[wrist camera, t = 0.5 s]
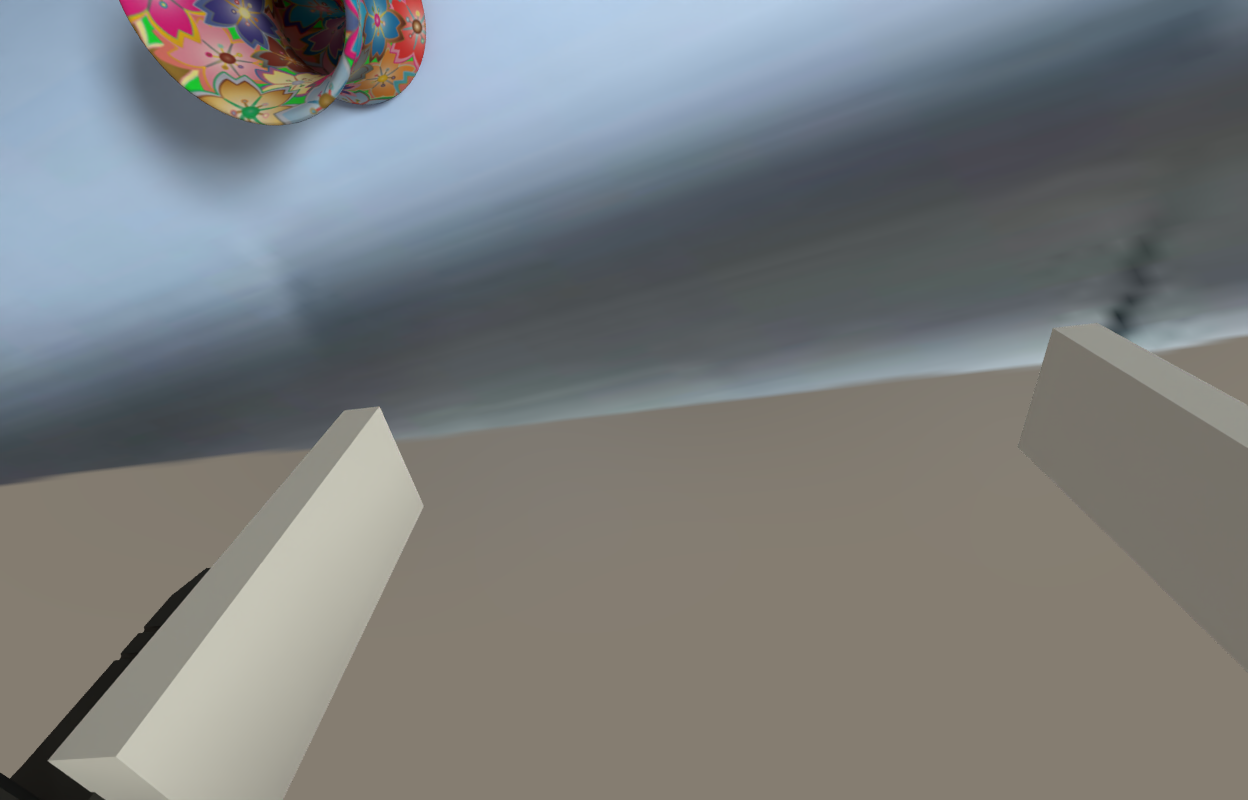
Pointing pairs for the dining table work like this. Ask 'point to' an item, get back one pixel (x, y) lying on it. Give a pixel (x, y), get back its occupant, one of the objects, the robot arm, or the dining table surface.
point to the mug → (283, 52)
